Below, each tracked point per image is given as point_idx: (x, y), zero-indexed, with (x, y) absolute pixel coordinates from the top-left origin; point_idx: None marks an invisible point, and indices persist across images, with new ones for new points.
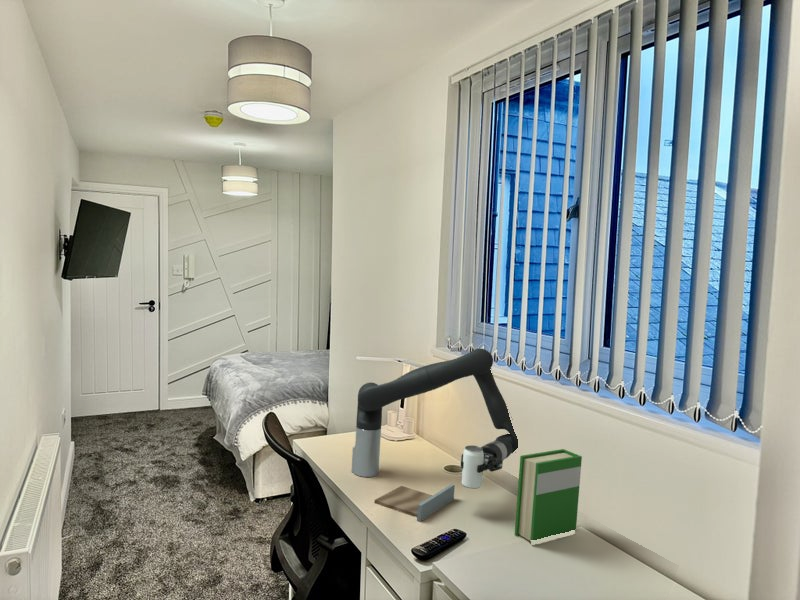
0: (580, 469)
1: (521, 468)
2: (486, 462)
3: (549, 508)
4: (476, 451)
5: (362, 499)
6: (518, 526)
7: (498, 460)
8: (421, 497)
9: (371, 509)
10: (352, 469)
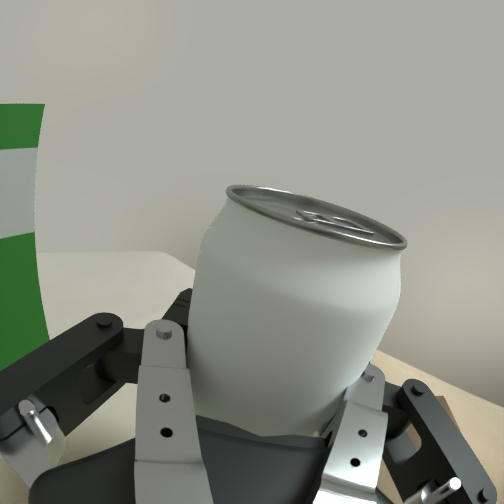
0: None
1: (34, 154)
2: (158, 324)
3: None
4: (262, 190)
5: (459, 399)
6: None
7: (9, 409)
8: None
9: (418, 379)
10: None
